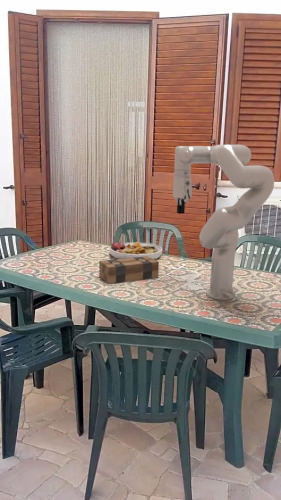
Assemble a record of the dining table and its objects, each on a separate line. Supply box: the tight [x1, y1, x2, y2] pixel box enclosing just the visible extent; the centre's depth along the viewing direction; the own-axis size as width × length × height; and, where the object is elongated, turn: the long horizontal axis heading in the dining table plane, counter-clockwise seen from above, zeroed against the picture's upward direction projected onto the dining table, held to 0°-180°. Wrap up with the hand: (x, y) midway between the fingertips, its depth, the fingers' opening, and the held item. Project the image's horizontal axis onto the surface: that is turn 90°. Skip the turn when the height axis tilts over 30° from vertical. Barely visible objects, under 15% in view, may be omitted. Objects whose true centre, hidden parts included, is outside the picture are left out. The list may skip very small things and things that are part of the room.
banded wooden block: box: [98, 256, 160, 285], centre depth 218 cm, size 12×26×8 cm, turn 116°
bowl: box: [109, 241, 163, 260], centre depth 259 cm, size 30×30×8 cm
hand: (180, 213), depth 211 cm, fingers closed
